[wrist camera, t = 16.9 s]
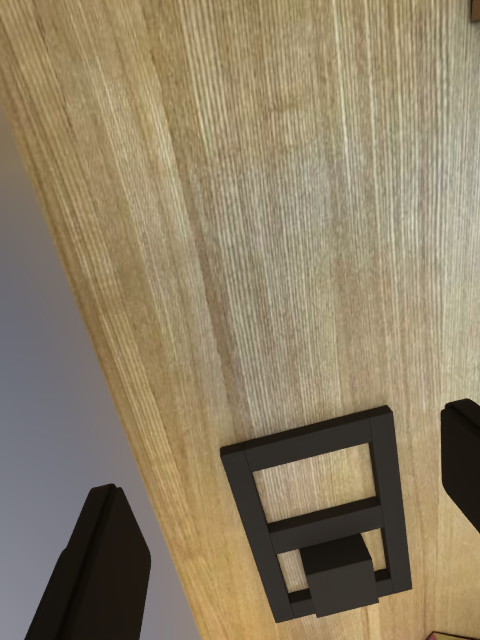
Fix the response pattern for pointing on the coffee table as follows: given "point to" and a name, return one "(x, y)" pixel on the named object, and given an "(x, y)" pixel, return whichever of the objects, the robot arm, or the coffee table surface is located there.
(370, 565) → the dark brown square block
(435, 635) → the box
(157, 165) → the coffee table surface
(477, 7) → the wooden puzzle
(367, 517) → the black flat rectangular frame
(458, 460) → the robot arm
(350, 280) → the coffee table surface
